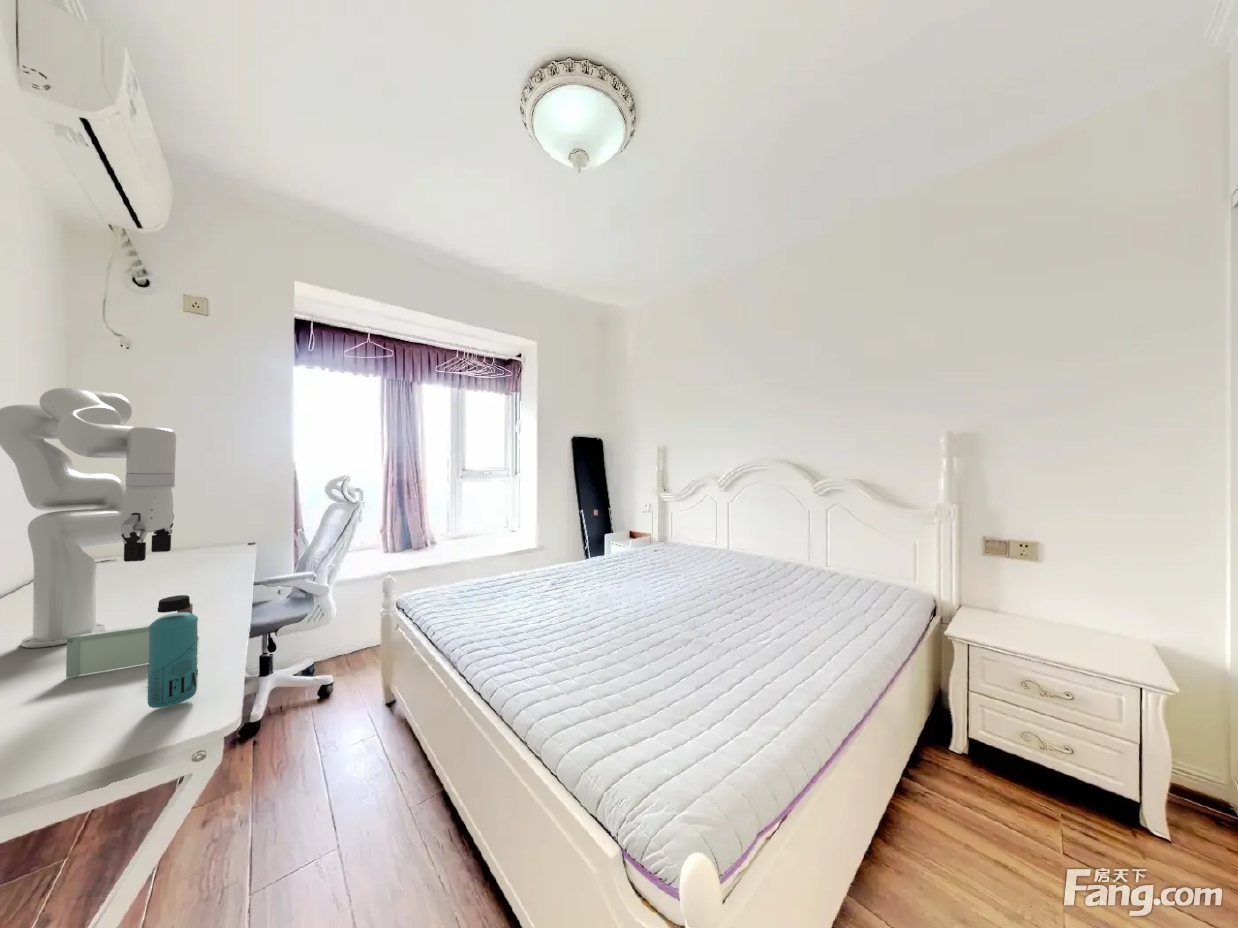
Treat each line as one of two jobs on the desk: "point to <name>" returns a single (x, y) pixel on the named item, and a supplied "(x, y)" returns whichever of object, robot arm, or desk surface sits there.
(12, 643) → the desk surface
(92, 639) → the panel
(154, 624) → the beverage bottle
